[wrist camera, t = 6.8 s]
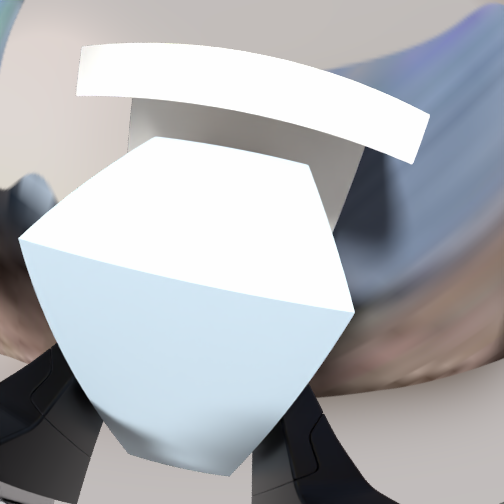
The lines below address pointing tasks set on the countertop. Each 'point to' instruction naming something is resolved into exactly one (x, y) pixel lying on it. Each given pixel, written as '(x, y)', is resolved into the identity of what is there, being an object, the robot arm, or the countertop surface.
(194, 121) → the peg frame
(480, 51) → the countertop surface
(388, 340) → the countertop surface
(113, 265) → the pale blue block
